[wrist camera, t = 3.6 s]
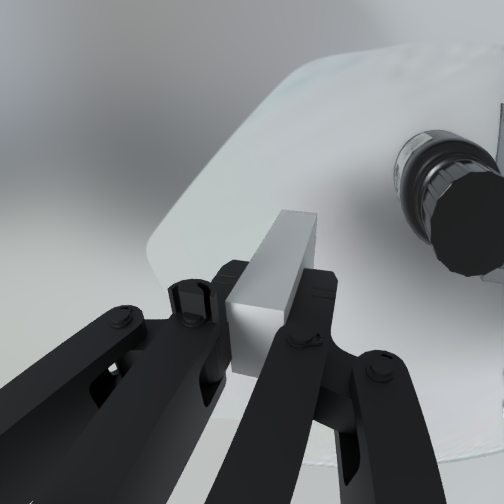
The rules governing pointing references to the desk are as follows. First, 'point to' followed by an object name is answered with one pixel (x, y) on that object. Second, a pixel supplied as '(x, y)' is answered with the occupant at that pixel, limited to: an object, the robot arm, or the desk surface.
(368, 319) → the desk surface
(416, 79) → the desk surface
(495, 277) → the tray
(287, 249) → the robot arm
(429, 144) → the ink bottle
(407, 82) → the desk surface
